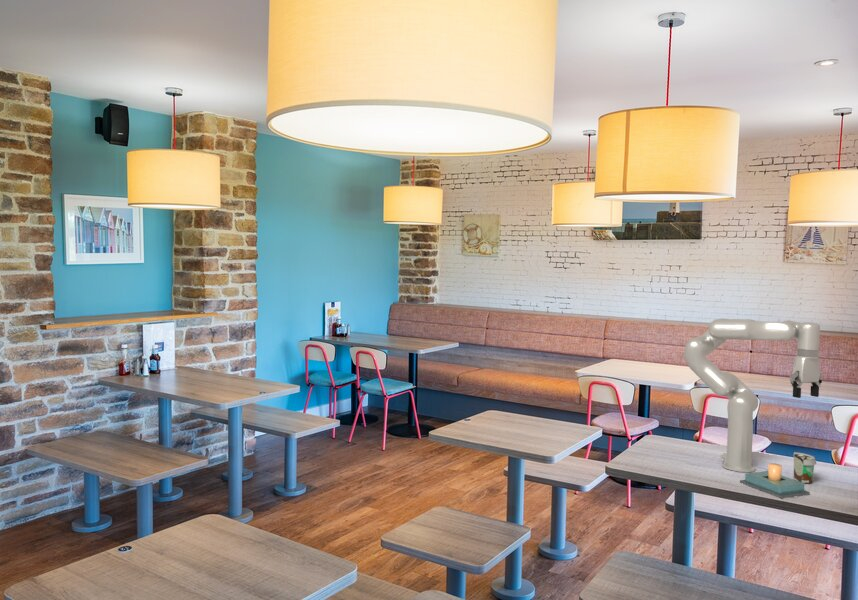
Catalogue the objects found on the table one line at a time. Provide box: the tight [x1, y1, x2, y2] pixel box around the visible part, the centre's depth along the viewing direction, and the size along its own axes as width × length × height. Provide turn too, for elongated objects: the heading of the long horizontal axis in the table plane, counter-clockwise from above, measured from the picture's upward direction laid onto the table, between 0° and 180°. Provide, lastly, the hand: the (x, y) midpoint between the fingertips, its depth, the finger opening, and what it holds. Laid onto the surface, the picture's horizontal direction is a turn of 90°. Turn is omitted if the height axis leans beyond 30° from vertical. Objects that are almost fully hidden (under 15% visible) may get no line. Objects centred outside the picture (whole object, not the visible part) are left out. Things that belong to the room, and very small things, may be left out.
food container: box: [792, 451, 817, 485], centre depth 265 cm, size 12×6×10 cm, turn 168°
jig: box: [739, 470, 811, 499], centre depth 254 cm, size 19×14×4 cm
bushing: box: [767, 463, 783, 481], centre depth 254 cm, size 4×4×8 cm
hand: (805, 396), depth 265 cm, fingers open, 9 cm apart
